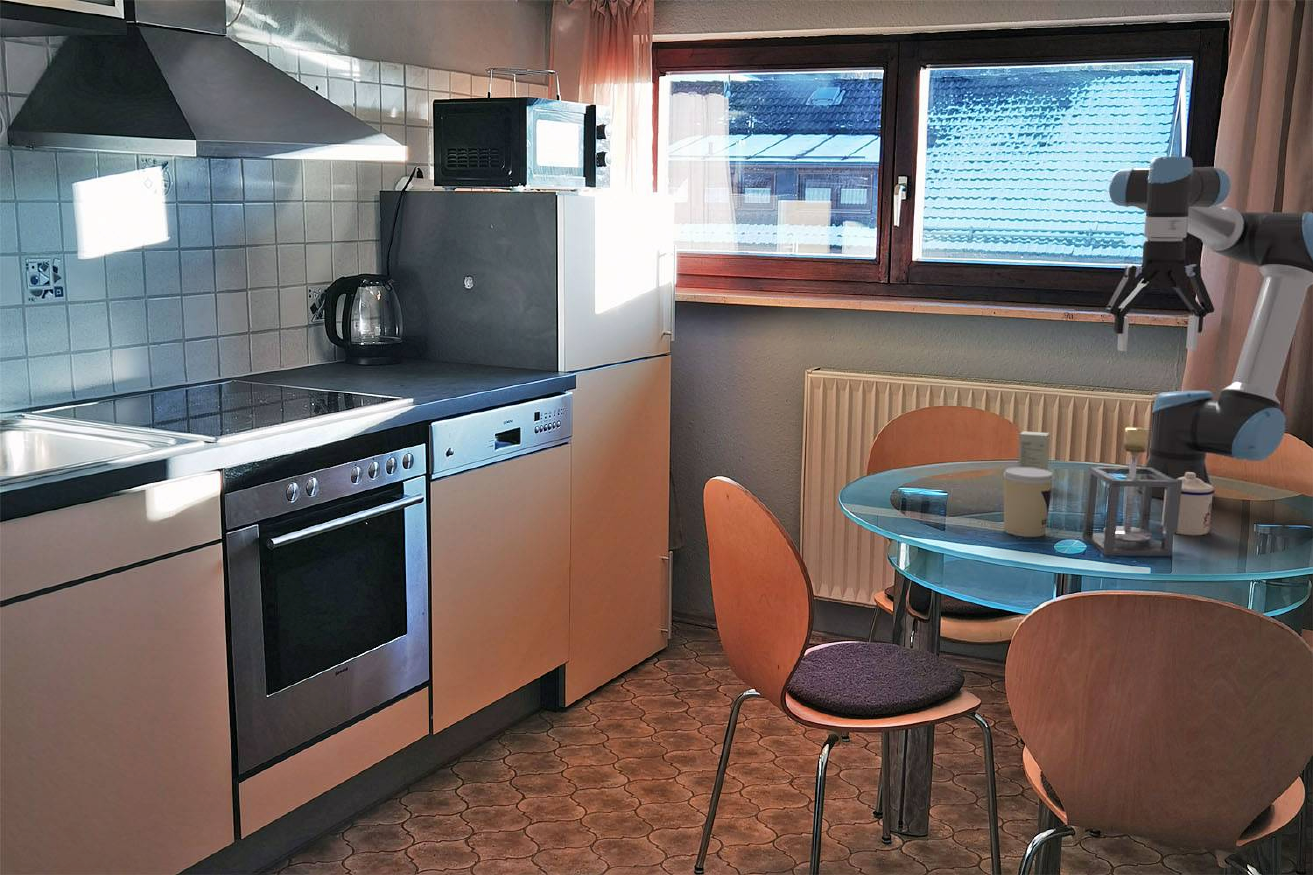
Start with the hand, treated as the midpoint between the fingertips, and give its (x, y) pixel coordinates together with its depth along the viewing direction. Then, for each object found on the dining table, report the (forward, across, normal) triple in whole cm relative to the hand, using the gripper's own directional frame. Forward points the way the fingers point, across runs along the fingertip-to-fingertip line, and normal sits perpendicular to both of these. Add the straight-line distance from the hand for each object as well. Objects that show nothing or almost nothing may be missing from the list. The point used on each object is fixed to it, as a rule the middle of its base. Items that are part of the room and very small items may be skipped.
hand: (1156, 350), depth 233 cm
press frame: (+35, -8, -15) cm, 39 cm away
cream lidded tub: (+35, -26, -5) cm, 44 cm away
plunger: (+33, -10, -15) cm, 38 cm away
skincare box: (+36, -11, +35) cm, 51 cm away
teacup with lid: (+36, +7, -2) cm, 37 cm away
